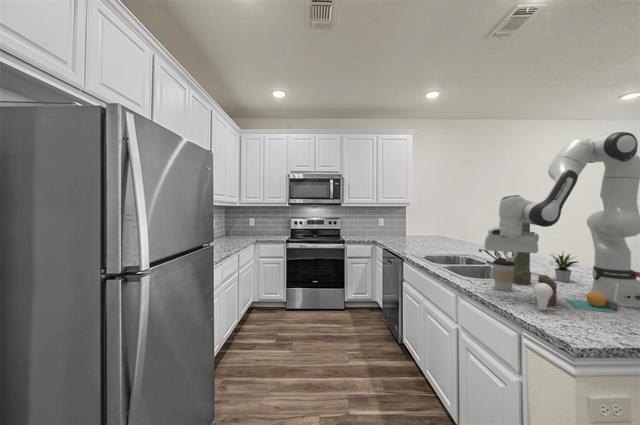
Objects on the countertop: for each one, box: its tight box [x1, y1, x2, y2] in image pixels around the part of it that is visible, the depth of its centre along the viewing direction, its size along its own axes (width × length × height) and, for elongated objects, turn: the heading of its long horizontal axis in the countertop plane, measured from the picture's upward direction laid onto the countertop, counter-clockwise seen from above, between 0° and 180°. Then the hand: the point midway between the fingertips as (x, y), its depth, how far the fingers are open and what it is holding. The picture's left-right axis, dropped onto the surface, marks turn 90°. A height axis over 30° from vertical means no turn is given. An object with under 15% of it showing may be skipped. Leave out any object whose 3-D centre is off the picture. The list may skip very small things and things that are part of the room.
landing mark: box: [565, 298, 617, 314], centre depth 118 cm, size 12×12×1 cm
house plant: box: [549, 251, 579, 283], centre depth 156 cm, size 14×14×16 cm
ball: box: [585, 291, 607, 307], centre depth 117 cm, size 6×6×6 cm
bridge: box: [537, 274, 558, 308], centre depth 124 cm, size 3×15×10 cm, turn 154°
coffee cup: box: [492, 257, 514, 292], centre depth 142 cm, size 9×9×15 cm
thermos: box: [511, 223, 532, 286], centre depth 152 cm, size 9×12×35 cm
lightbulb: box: [532, 283, 553, 312], centre depth 113 cm, size 6×6×11 cm
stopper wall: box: [604, 299, 618, 312], centre depth 115 cm, size 2×6×3 cm, turn 154°
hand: (510, 261), depth 130 cm, fingers closed
